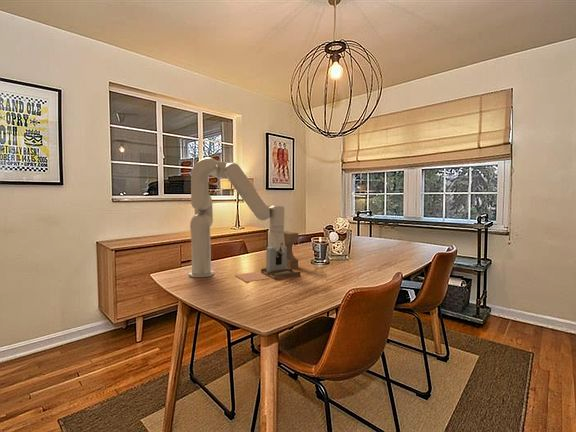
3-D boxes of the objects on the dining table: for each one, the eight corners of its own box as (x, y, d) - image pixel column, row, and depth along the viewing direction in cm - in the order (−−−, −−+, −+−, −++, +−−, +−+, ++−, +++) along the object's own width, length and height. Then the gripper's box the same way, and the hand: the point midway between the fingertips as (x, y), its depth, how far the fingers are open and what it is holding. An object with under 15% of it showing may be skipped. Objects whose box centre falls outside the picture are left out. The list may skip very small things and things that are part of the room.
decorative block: (298, 268, 180) (299, 233, 178) (290, 269, 177) (291, 233, 175) (286, 264, 189) (287, 230, 187) (278, 265, 185) (279, 231, 184)
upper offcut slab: (273, 275, 161) (273, 273, 161) (288, 273, 167) (288, 270, 167) (279, 278, 157) (279, 275, 157) (293, 275, 163) (293, 273, 163)
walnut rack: (261, 273, 168) (261, 268, 168) (284, 270, 175) (284, 265, 175) (275, 280, 155) (275, 275, 154) (300, 276, 162) (300, 271, 162)
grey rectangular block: (266, 273, 167) (266, 247, 166) (282, 271, 173) (282, 245, 171) (269, 275, 164) (270, 248, 163) (286, 272, 169) (286, 246, 168)
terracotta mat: (235, 275, 162) (235, 274, 162) (256, 272, 169) (256, 271, 169) (246, 282, 151) (246, 281, 150) (268, 279, 157) (268, 278, 157)
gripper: (263, 227, 172) (262, 261, 173) (278, 231, 157) (278, 267, 159) (275, 227, 175) (274, 259, 177) (291, 230, 161) (291, 266, 163)
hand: (276, 263), depth 168 cm, fingers closed on grey rectangular block, 4 cm apart
